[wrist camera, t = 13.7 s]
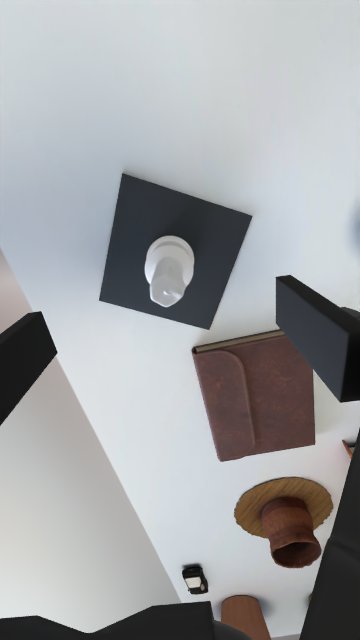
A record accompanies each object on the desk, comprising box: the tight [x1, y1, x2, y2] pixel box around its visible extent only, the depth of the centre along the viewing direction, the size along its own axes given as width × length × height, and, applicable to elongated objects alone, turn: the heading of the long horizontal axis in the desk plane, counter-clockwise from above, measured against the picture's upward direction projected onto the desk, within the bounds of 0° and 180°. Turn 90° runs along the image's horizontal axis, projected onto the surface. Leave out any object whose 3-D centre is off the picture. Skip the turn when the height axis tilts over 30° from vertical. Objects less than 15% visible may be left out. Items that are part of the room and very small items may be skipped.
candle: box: [145, 236, 194, 307], centre depth 24 cm, size 5×5×12 cm
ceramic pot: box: [234, 477, 333, 568], centre depth 45 cm, size 18×18×7 cm
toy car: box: [182, 568, 208, 594], centre depth 57 cm, size 10×4×3 cm, turn 14°
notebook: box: [192, 329, 315, 462], centre depth 37 cm, size 15×20×2 cm
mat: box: [99, 173, 252, 330], centre depth 30 cm, size 14×14×1 cm
